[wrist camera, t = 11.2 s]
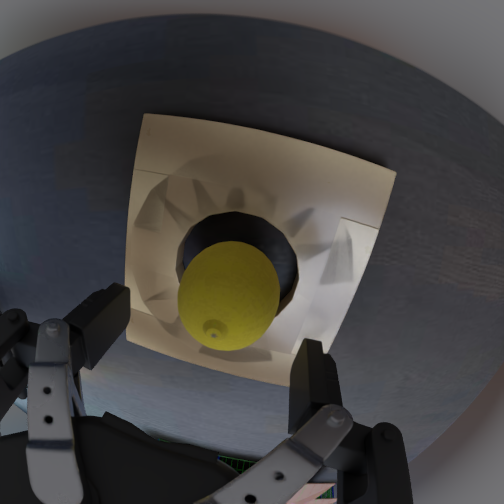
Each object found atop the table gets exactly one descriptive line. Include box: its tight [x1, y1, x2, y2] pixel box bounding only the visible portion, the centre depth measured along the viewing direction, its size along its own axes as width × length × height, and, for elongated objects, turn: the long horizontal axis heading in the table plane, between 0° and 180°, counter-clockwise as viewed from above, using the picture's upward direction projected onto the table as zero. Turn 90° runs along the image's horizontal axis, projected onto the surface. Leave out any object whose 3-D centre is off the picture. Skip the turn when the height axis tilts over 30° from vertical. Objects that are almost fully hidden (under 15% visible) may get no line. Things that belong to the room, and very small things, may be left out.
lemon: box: [177, 241, 280, 351], centre depth 15 cm, size 6×6×8 cm
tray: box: [125, 113, 396, 387], centre depth 18 cm, size 18×16×2 cm
